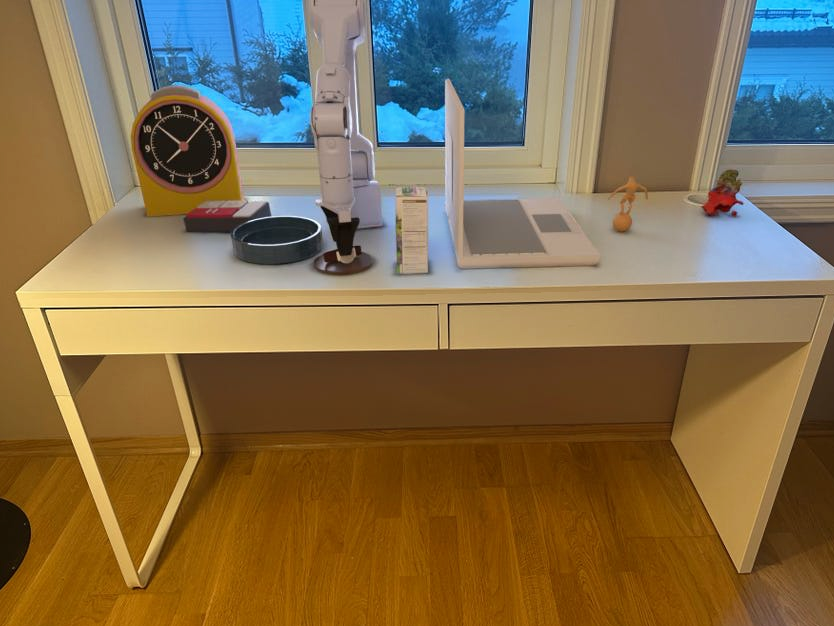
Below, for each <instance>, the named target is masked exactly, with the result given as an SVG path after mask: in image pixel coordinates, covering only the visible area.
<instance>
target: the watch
mask: <svg viewBox="0 0 834 626" xmlns="http://www.w3.org/2000/svg"><path fill="white" fill-rule="evenodd" d="M362 252H363V251H362V245H360V244H359V245H353V249H352V254H351V255H348V256H340V255H339V252H338V249H337V248H336V249H331V250H329V251H326V252H325V251H324V252H323V253H322V254H323V257H324V261H325V262H326V263H328V262H334V261H341V262H343V263H350V262H351V261H352V260H353V259H354V257H356V256H359V255H361V254H362Z"/></svg>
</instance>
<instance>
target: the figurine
mask: <svg viewBox="0 0 834 626" xmlns="http://www.w3.org/2000/svg"><path fill="white" fill-rule="evenodd" d="M638 189H639V190H643V191H644V196H643V197H644V198H645V200H648V199H649V194H648V189H647V188H646V187H645V186H643V185H641V183H638V182H636V180H635V178H634V177H633V176H630V177H629V178H628V182H627V183H626V184H624V185H622V186H620V187H618V188H616V189H615V190H614V191H613V192H612V193H611V194H610V195H609V197H608V199H607V201H610V199H611V198H612V197H613V196H615V195H616V194H617V193H618V192H619V191H623V190H625V193H626V194H623V195H622V198H621V199H620V200H619V203H620V209H621V211H620V212H619V213H616V214H615V216H614V217H613V218H612V227H613V229H615V230H616V232H619V233H623V232H626V231H628V230H629V229H631V227H632V225H633V218H632V217H631V215H630V213H631V210H632V207H633V206H632V203H633V202H634V201H635V200H636V199H637V198H636V197H637V196H636V194H635V193H636V191H637V190H638ZM627 200H628V205H627V208H628V209H627V211H626V212H625V206H624V204H625V203H626V202H627Z"/></svg>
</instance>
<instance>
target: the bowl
mask: <svg viewBox="0 0 834 626" xmlns="http://www.w3.org/2000/svg"><path fill="white" fill-rule="evenodd" d="M230 239H231V244H232V251H233V255H234V256H235V257H236V258H237V259H239V260H241V261H243V262H248V263H252V264H260V265H261V264H262V265H280V264H287V263H293V262H298V261H303V260H305V259H308V258H311V257H313V256H315V255H316V254H318V253H319V252H320V251H321V250H322V249H323V247H324V238H323V228H322V226H321V224H320V223H319V222H318V221H317V220H314V219H312V218H308V217H304V216H299V215H298V216H297V215H296V216H295V215H274V216H273V215H272V216H271V217H265V218H259V219H255V220H251V221H247V222H245V223H242V224H240V225H238V226H237V227H235V228H234V229H233V230H232V231H230Z"/></svg>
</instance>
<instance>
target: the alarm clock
mask: <svg viewBox="0 0 834 626" xmlns="http://www.w3.org/2000/svg"><path fill="white" fill-rule="evenodd" d="M130 145H131V152H132V156H133V160H134V165H135V169H136V170H135V171H136V173H137V177H138V182H139V183H138V184H139V186H140V191H141V194H142V199H143V203H144V208H145V212H146V213H145V214H146V217H161V216H162V217H163V216H176V215H186V214H188V213H189V212H191V211H192V210H193V209H195V208H197V207H198V206H199V205H201V204H202V203H204V202H205V201H225V202H227V201H244V200H245V196H244V195H245V194H244V188H243V183H242V176H241V175H242V174H241V169H240V163H239V156H238V149H237V144H236V136H235V133H234V130H233V126H232V124H231V121H230V120H229V118H228V117H227V115H226V113H225V112H224V111H223V110H222V109H221V108H220V107H219V106H218V104H216V103H215V102H214V101H212V100H211V99H210V98H208V97H207V96H205V95H203V94H201V92H200V90H198V89H196V88H193V87H191V86H185V85H179V84H173V85H167V86H164V87H161V88H159V89H157V90H155V91H153V92H152V93H151V94H150V100H148V102H146V104H144V106H143V107H142V108H141V109H140V110H139V112H138V114H136V117H135V118H134V120H133V122H132V126H131V132H130Z"/></svg>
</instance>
